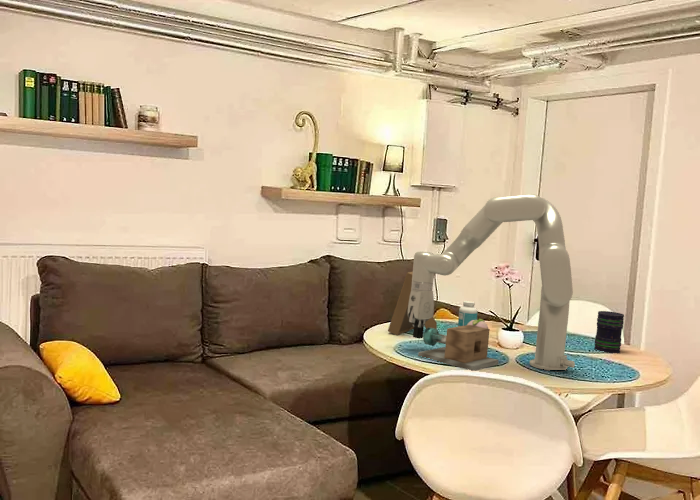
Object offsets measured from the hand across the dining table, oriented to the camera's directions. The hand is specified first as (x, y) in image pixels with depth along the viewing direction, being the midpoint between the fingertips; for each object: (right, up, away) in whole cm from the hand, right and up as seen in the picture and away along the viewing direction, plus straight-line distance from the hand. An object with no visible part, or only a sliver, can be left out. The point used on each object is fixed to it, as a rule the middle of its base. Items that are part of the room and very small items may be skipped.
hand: (417, 337), depth 251 cm
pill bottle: (+24, -4, +38) cm, 45 cm away
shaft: (+9, -3, -8) cm, 12 cm away
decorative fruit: (+25, -5, +22) cm, 34 cm away
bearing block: (+12, -6, -10) cm, 17 cm away
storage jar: (+77, -9, +27) cm, 82 cm away
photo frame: (+2, -2, +33) cm, 33 cm away
